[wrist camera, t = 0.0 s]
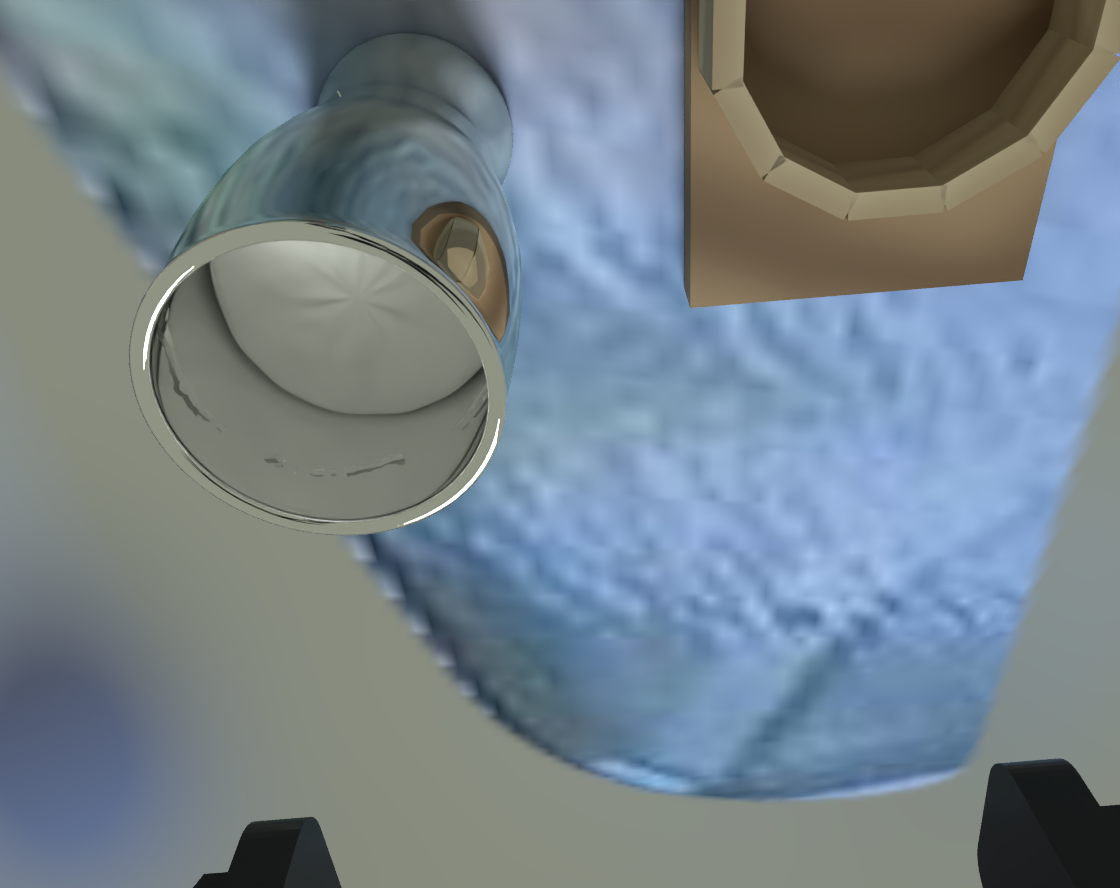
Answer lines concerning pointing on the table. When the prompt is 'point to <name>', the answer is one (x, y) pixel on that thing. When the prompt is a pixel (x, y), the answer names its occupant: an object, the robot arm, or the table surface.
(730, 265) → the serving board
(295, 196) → the beer glass
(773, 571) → the table surface
